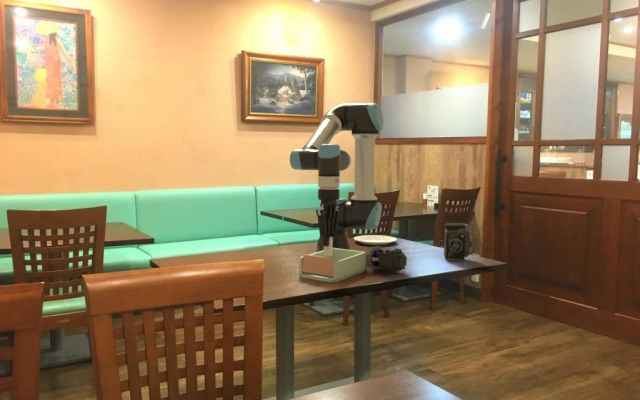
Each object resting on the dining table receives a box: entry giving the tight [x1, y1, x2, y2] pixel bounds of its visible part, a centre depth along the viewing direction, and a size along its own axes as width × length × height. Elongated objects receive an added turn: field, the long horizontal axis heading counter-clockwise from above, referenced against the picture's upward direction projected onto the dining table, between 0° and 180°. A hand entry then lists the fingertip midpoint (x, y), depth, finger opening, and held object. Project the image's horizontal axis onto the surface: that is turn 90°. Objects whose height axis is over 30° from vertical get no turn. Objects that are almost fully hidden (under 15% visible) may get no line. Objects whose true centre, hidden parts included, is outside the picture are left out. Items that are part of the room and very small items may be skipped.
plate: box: [353, 234, 398, 246], centre depth 247 cm, size 21×21×2 cm
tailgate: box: [302, 254, 335, 278], centre depth 174 cm, size 12×1×7 cm, turn 57°
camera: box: [443, 222, 473, 262], centre depth 208 cm, size 10×10×15 cm
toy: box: [367, 245, 408, 275], centre depth 187 cm, size 9×9×15 cm
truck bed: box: [298, 248, 368, 284], centre depth 183 cm, size 15×22×7 cm
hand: (328, 254), depth 179 cm, fingers closed
